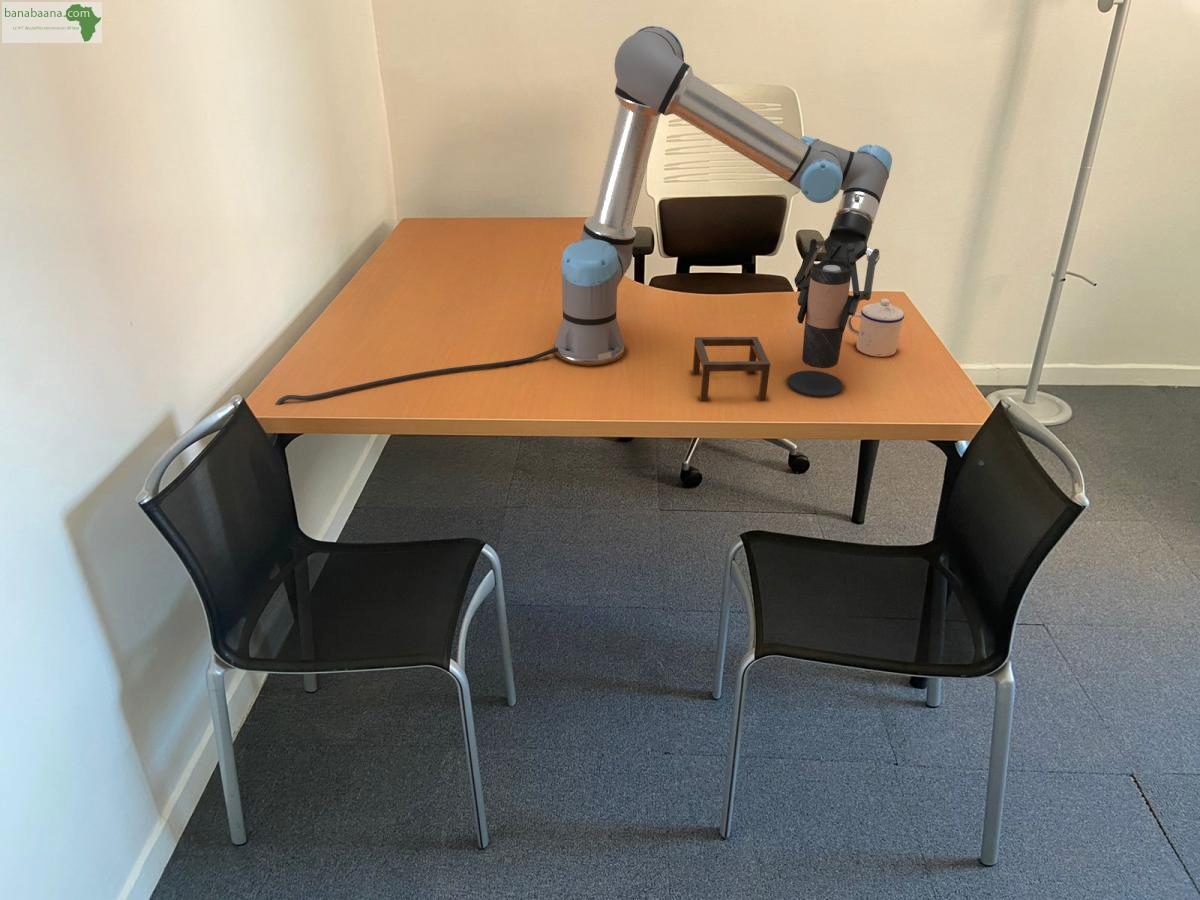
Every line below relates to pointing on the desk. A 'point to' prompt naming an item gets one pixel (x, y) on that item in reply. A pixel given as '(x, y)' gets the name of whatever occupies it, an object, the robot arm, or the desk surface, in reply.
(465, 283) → the desk surface
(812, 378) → the coaster
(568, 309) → the robot arm
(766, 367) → the rack
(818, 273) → the travel mug
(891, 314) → the teacup with lid
